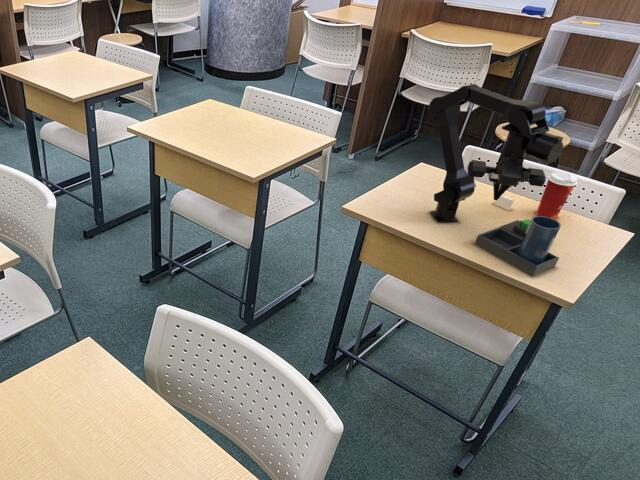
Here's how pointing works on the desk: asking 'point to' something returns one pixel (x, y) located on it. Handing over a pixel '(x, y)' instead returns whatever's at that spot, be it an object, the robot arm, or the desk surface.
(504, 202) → the eraser
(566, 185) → the paper cup
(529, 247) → the tumbler
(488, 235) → the divided tray
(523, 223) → the button
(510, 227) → the control block
